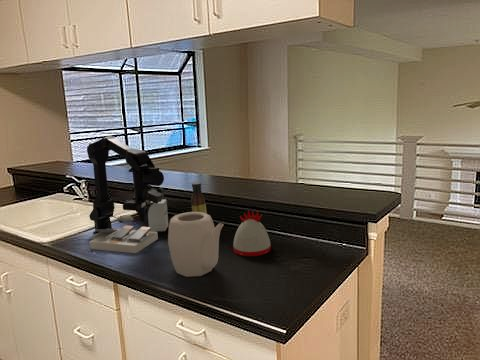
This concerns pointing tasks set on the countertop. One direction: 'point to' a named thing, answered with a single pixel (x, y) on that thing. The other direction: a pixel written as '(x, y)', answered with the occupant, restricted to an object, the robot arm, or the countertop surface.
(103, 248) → the switch board
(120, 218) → the soupspoon
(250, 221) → the kitchen timer
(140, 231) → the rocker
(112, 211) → the robot arm
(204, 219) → the watering can
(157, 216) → the supplement box
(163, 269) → the countertop surface
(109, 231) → the rocker
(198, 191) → the sauce bottle
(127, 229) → the rocker
